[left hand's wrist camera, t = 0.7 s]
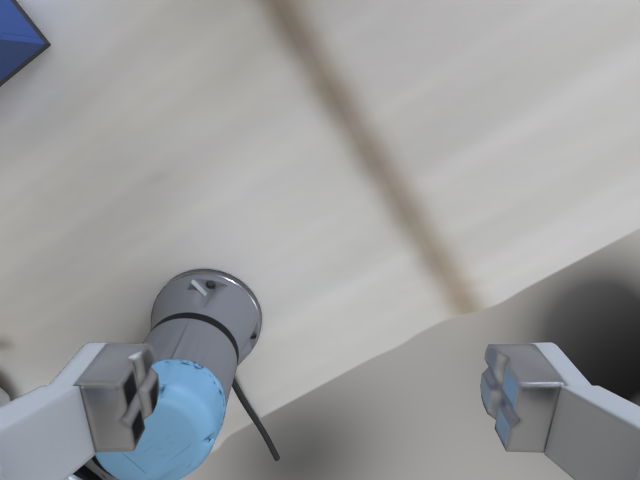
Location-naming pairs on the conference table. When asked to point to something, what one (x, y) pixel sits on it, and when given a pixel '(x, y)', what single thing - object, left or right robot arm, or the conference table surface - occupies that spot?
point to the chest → (17, 39)
